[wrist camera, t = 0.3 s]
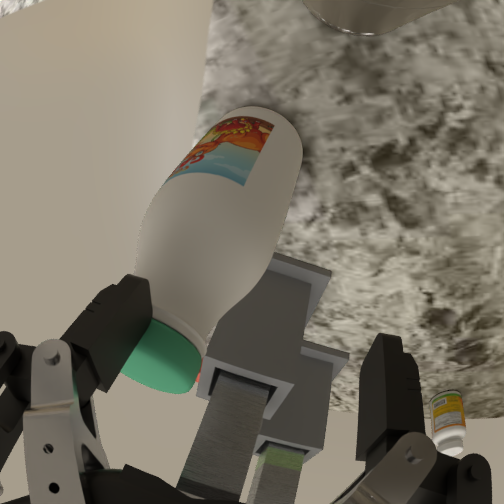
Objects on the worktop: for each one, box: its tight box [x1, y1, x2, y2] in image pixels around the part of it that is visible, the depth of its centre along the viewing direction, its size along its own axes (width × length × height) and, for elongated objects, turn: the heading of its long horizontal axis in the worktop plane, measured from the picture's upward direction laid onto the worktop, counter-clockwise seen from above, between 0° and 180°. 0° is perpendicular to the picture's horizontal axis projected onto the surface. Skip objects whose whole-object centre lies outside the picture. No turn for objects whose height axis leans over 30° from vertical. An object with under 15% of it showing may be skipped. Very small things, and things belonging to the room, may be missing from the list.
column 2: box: [246, 440, 305, 504], centre depth 27 cm, size 4×4×22 cm
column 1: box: [176, 369, 271, 502], centre depth 25 cm, size 4×4×22 cm
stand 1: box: [196, 252, 331, 420], centre depth 30 cm, size 10×10×13 cm
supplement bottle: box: [430, 391, 466, 456], centre depth 36 cm, size 5×5×10 cm
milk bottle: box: [120, 106, 303, 394], centre depth 19 cm, size 8×8×20 cm
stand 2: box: [252, 340, 349, 465], centre depth 36 cm, size 10×10×13 cm
